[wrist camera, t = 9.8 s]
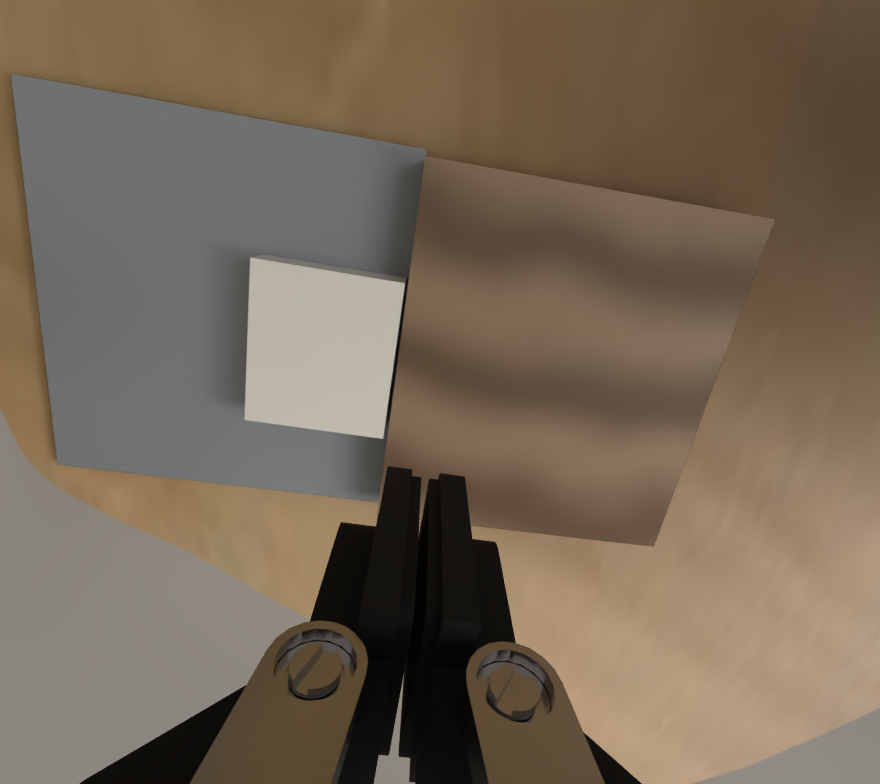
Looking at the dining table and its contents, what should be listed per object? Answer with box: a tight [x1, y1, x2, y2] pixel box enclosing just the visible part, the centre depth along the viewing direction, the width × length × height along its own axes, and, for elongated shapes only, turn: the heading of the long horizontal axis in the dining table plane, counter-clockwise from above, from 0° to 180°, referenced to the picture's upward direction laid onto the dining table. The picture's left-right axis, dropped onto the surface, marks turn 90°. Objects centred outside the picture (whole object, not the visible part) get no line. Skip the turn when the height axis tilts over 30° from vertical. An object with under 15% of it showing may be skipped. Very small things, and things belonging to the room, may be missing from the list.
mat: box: [11, 74, 427, 502], centre depth 25 cm, size 19×18×1 cm
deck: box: [377, 156, 775, 547], centre depth 25 cm, size 18×16×2 cm
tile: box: [245, 255, 406, 439], centre depth 24 cm, size 8×7×2 cm
